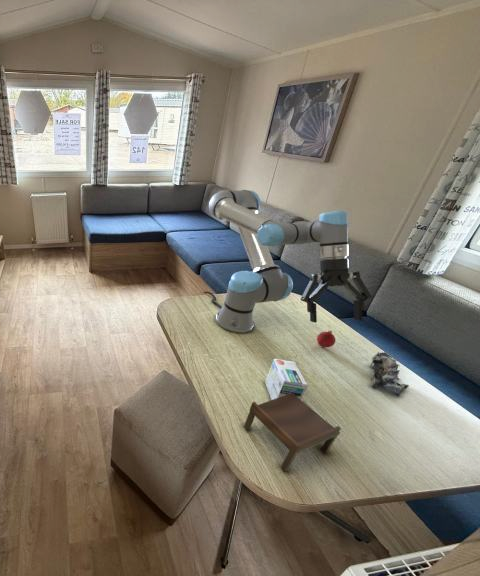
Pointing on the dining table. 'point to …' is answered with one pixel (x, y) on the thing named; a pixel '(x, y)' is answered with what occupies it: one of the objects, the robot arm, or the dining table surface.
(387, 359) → the grey rugged figurine
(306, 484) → the dining table surface
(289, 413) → the wooden step stool
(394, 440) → the dining table surface
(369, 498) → the dining table surface
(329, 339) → the onion
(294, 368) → the light bulb box
